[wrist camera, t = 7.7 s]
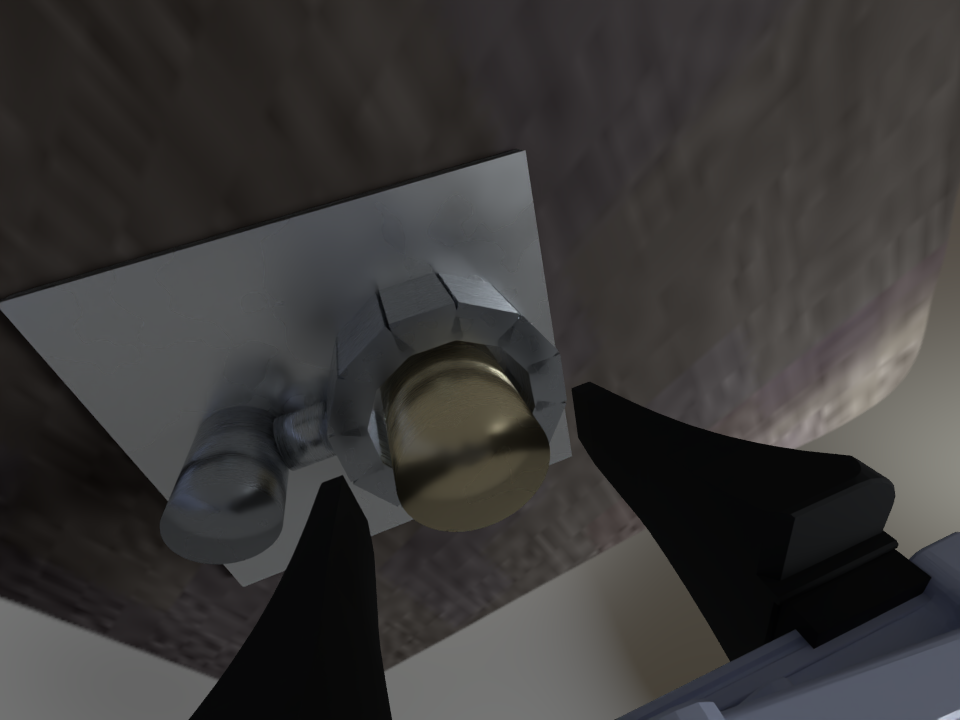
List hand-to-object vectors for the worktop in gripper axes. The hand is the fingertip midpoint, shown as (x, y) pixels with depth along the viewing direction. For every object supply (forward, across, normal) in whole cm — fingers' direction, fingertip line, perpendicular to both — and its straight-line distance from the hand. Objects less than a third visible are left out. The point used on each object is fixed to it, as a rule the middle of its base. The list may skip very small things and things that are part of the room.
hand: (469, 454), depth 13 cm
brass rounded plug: (+5, 0, 0) cm, 5 cm away
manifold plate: (+6, +3, 0) cm, 6 cm away
